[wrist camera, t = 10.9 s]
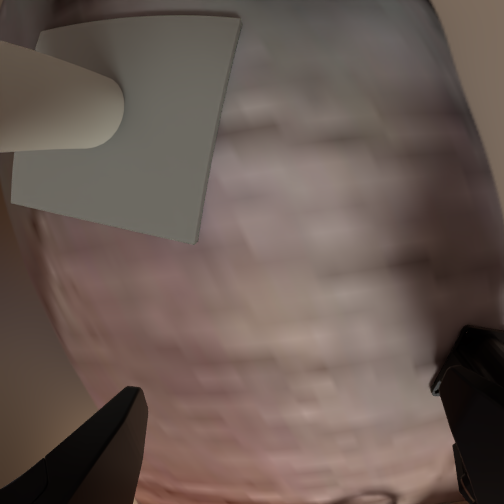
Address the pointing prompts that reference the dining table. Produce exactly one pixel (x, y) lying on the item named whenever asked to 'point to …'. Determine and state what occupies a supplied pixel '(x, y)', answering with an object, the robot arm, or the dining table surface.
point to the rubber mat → (139, 124)
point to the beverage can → (54, 103)
